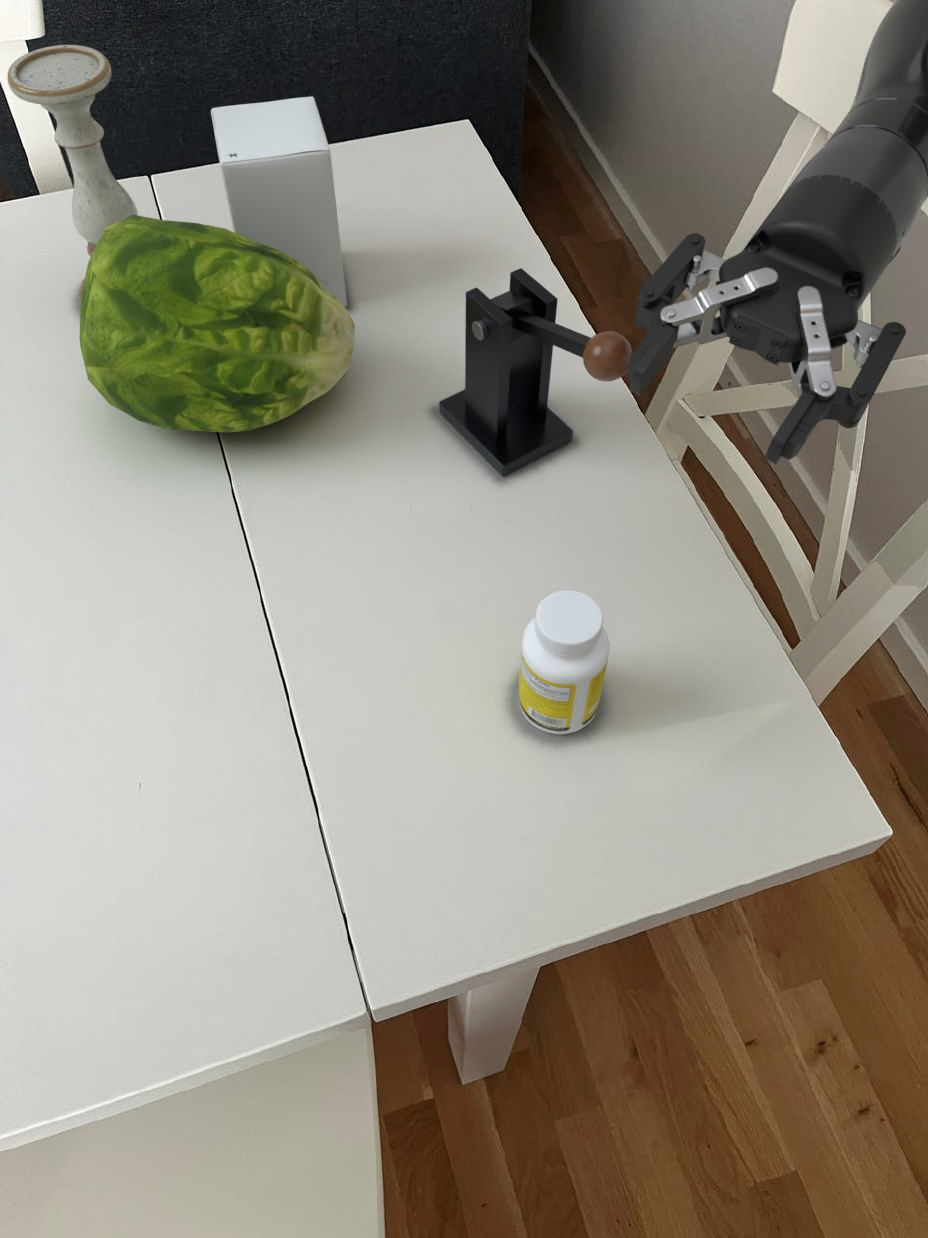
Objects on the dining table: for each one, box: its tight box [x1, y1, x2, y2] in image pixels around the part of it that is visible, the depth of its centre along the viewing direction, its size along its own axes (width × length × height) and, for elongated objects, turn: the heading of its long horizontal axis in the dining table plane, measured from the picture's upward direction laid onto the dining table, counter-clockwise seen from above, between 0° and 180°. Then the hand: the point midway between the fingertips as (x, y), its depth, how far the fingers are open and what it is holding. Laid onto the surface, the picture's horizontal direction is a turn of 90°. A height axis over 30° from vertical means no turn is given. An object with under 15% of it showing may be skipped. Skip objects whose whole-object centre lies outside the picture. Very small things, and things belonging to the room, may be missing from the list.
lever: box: [489, 290, 633, 383], centre depth 68 cm, size 14×3×3 cm, turn 35°
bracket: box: [438, 267, 574, 477], centre depth 76 cm, size 9×7×13 cm
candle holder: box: [7, 44, 139, 301], centre depth 83 cm, size 9×9×20 cm
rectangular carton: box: [210, 96, 348, 308], centre depth 86 cm, size 9×9×15 cm
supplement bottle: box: [518, 589, 610, 735], centre depth 62 cm, size 5×5×10 cm
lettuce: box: [79, 215, 356, 434], centre depth 77 cm, size 16×21×15 cm
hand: (703, 418), depth 54 cm, fingers open, 8 cm apart
